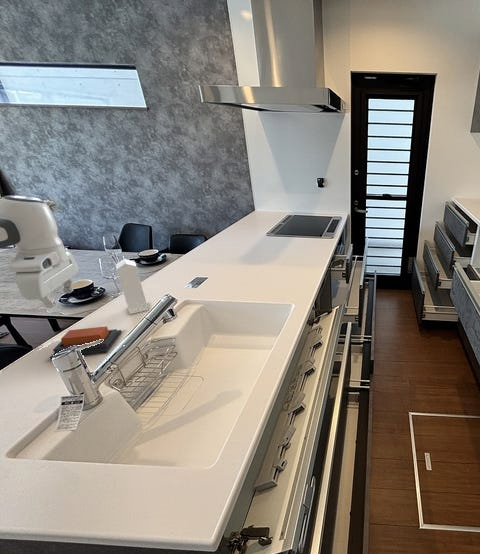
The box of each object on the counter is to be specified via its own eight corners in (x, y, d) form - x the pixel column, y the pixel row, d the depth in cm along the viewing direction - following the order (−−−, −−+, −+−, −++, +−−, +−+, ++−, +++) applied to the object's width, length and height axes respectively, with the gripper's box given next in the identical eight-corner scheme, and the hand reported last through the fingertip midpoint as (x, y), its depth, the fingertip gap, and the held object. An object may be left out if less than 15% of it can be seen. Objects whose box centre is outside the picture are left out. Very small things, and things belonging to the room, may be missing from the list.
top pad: (65, 349, 95) (60, 338, 94) (73, 340, 100) (69, 330, 98) (103, 344, 98) (100, 334, 97) (110, 336, 103) (106, 326, 101)
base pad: (50, 360, 92) (47, 353, 91) (72, 337, 102) (69, 331, 102) (106, 352, 96) (104, 346, 95) (121, 332, 107) (119, 326, 106)
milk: (130, 314, 118) (113, 261, 109) (128, 308, 122) (112, 256, 113) (148, 309, 121) (134, 258, 112) (147, 303, 126) (132, 253, 117)
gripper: (52, 244, 93) (66, 285, 98) (3, 268, 75) (23, 317, 80) (77, 243, 95) (90, 284, 100) (36, 267, 77) (54, 314, 82)
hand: (60, 299), depth 90 cm, fingers open, 8 cm apart
